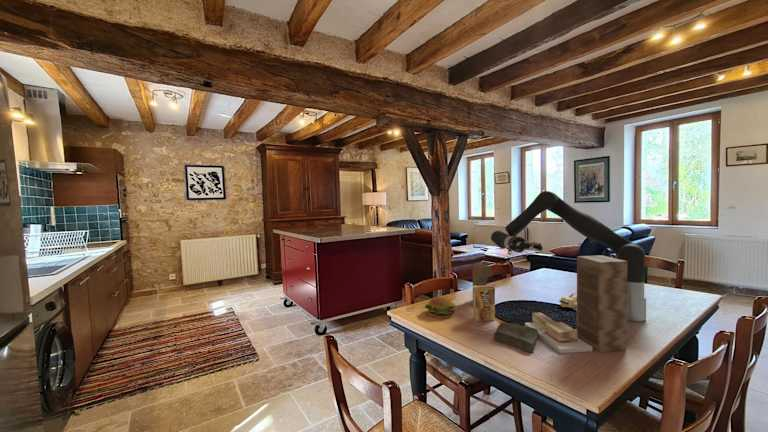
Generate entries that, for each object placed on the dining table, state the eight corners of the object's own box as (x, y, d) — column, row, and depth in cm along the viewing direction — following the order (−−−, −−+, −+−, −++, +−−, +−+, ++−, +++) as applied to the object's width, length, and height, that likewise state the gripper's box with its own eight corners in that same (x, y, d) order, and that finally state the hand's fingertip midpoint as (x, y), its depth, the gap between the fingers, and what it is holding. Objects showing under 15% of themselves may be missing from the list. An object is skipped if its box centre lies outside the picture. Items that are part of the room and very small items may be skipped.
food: (440, 307, 163) (439, 291, 163) (460, 314, 151) (460, 298, 151) (419, 312, 155) (419, 296, 155) (439, 321, 144) (439, 304, 143)
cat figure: (590, 302, 168) (552, 303, 161) (591, 285, 168) (554, 286, 161) (608, 308, 159) (569, 310, 152) (609, 290, 159) (570, 292, 151)
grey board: (551, 324, 137) (551, 321, 137) (592, 351, 113) (592, 346, 113) (524, 326, 136) (524, 322, 136) (560, 353, 112) (560, 348, 112)
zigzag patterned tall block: (600, 335, 125) (601, 255, 123) (626, 350, 113) (627, 261, 111) (576, 337, 124) (576, 256, 122) (599, 352, 112) (600, 262, 110)
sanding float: (544, 320, 138) (544, 311, 138) (577, 341, 117) (577, 331, 117) (528, 321, 137) (528, 312, 137) (559, 342, 116) (559, 332, 116)
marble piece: (533, 354, 112) (533, 343, 112) (490, 345, 120) (490, 334, 120) (540, 336, 126) (540, 326, 126) (501, 329, 134) (501, 319, 134)
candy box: (491, 317, 147) (491, 284, 146) (495, 320, 143) (495, 287, 142) (473, 318, 147) (472, 285, 146) (476, 321, 142) (475, 287, 142)
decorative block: (493, 305, 162) (492, 267, 161) (483, 306, 161) (482, 268, 160) (482, 299, 173) (481, 263, 172) (472, 300, 172) (472, 263, 171)
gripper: (501, 236, 158) (517, 240, 142) (528, 235, 159) (547, 239, 143) (501, 251, 159) (517, 257, 142) (528, 250, 160) (547, 256, 143)
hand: (532, 248), depth 143 cm, fingers open, 8 cm apart
